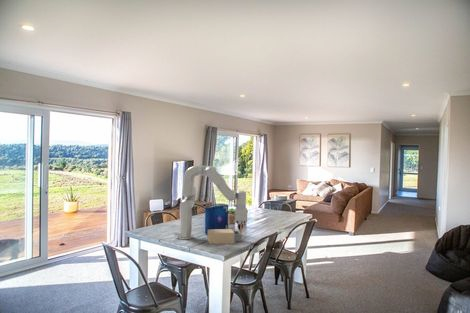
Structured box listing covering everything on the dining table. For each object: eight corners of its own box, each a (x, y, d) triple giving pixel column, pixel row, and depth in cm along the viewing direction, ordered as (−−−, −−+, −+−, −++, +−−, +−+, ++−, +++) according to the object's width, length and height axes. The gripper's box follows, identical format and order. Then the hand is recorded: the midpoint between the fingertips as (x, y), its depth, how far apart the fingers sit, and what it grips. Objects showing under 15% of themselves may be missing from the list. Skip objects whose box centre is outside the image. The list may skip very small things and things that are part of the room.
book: (207, 236, 264) (208, 206, 264) (203, 234, 270) (204, 205, 270) (228, 232, 277) (229, 204, 277) (224, 231, 283) (224, 203, 283)
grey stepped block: (217, 241, 244) (217, 225, 244) (215, 238, 254) (215, 222, 254) (242, 241, 249) (242, 225, 249) (239, 237, 259) (239, 222, 258)
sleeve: (209, 243, 242) (209, 233, 242) (207, 239, 254) (207, 229, 254) (234, 242, 246) (234, 232, 246) (231, 238, 258) (231, 228, 258)
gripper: (232, 207, 248) (231, 230, 248) (251, 207, 251) (250, 230, 251) (230, 205, 255) (230, 228, 255) (249, 205, 259) (248, 228, 259)
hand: (240, 229), depth 253 cm, fingers closed
